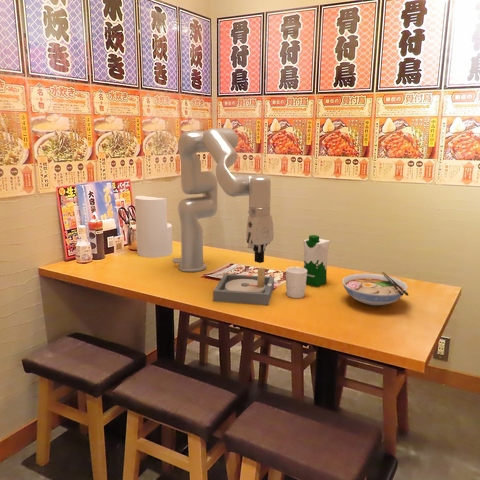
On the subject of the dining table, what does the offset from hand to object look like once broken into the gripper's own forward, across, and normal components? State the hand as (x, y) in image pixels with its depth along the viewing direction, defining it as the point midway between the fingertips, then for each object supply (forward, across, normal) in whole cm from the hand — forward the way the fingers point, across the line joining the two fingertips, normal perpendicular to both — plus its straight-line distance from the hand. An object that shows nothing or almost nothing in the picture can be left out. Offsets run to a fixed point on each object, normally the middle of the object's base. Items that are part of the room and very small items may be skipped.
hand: (259, 261), depth 165 cm
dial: (+13, 0, +7) cm, 15 cm away
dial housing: (+14, 0, +7) cm, 16 cm away
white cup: (+14, +13, -7) cm, 20 cm away
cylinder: (+13, +9, +78) cm, 80 cm away
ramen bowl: (+15, +27, -31) cm, 44 cm away
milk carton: (+14, +29, -4) cm, 33 cm away
